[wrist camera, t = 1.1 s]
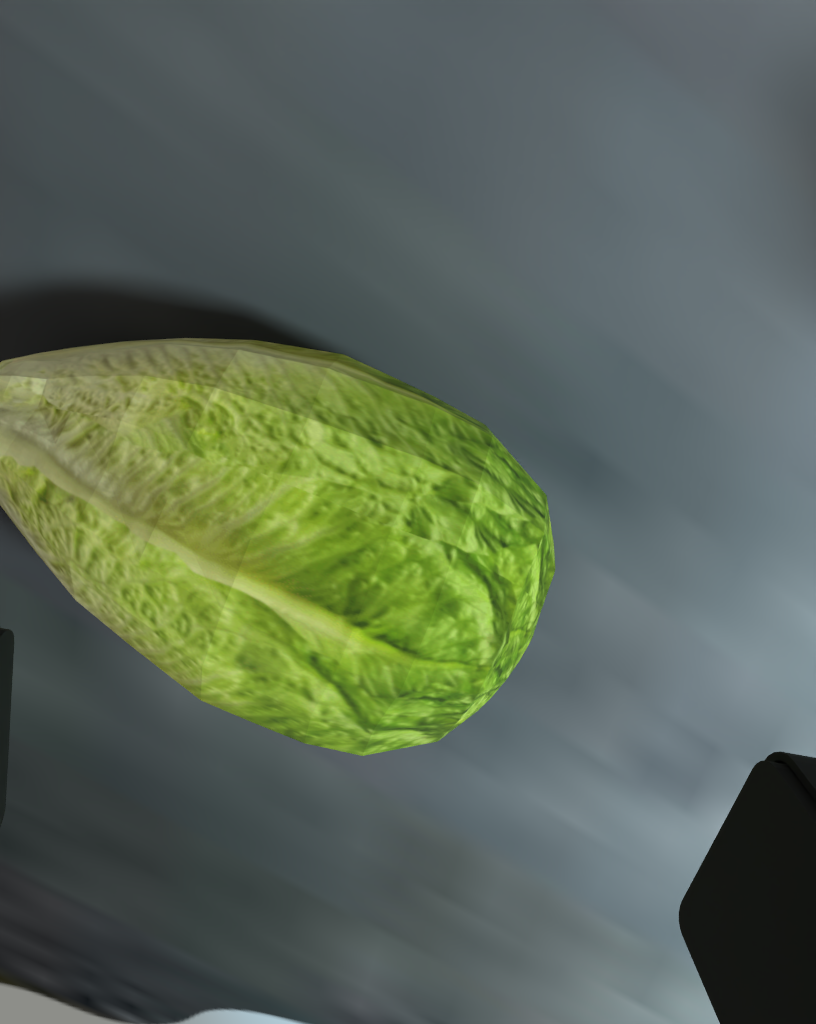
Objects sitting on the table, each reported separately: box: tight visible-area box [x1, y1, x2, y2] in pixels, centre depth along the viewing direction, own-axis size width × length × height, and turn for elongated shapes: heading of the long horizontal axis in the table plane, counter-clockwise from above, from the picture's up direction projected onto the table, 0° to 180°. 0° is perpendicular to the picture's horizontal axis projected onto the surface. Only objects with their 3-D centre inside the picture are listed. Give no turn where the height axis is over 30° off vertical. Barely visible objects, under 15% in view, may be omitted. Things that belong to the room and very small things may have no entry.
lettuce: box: [0, 338, 555, 756], centre depth 28 cm, size 13×22×14 cm
